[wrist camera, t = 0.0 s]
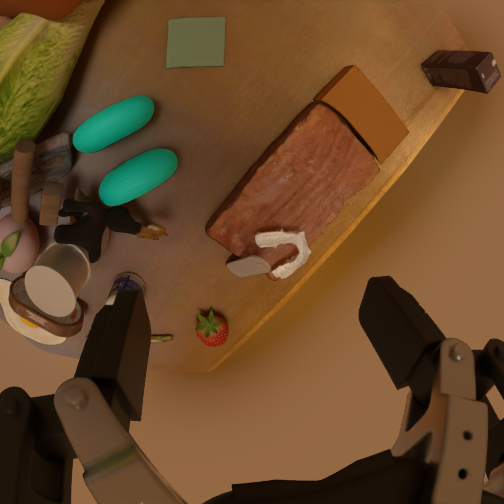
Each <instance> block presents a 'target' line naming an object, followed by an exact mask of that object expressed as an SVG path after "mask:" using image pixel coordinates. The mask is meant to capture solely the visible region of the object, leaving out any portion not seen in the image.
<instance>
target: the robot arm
mask: <svg viewBox="0 0 504 504" xmlns="http://www.w3.org/2000/svg"><path fill="white" fill-rule="evenodd" d="M359 321H360V324H361V326H362V328H363V330H364V331H365V333H366V335H367V336H368V338H369V340H370V342H371V343H372V345H373V347H374V348H375V350H376V352H377V354H378V356H379V357H380V359H381V361H382V363H383V365H384V366H385V368H386V370H387V372H388V373H389V375H390V377H391V379H392V381H393V383H394V385H395V387H396V388H397V390H398V389H401V388H404V387H407V386H409V387H410V389H411V390H410V392H409V393H408V396H407V400H406V405H405V410H404V415H403V420H402V424H401V429H400V433H399V436H398V439H397V441H396V442H395V444H394V445H393V447H392V449H391V450H390V449H389V450H386V451H383V452H380V453H378V454H375V455H372V456H369V457H366V458H363V459H360V460H357V461H355V462H354V463H352V464H350V465H348V466H347V467H345V468H343V469H341V470H340V471H338V472H336V473H335V474H332V475H331V476H329V477H327V478H325V479H322V480H318V481H296V480H269V481H261V482H252V483H243V484H232V491H229V492H226V493H223V494H220V495H218V496H216V497H213V498H211V499H209V500H208V501H206V502H204V503H203V504H504V418H503V419H502V420H499V419H498V417H497V415H496V413H495V411H494V409H493V407H492V406H491V404H490V402H489V400H488V398H487V397H486V394H487V393H488V391H489V390H490V389H491V388H492V387H493V386H494V384H495V386H496V387H497V389H498V391H499V392H500V394H501V396H502V398H503V399H504V342H503V341H501V340H499V339H490V340H489V341H488V343H487V344H486V346H485V347H484V349H483V350H471V349H470V348H469V346H468V345H467V344H466V343H464V342H463V341H461V340H459V339H456V338H448V339H447V338H446V337H445V336H444V334H443V333H442V332H441V331H440V329H439V328H438V327H437V325H436V324H435V323H434V322H433V320H432V319H431V318H430V317H429V315H428V314H427V313H425V310H424V309H423V308H422V307H421V306H419V303H418V302H417V301H416V300H415V298H414V297H413V296H412V295H411V294H410V293H408V292H407V291H405V290H404V289H402V288H400V287H399V285H398V284H397V283H396V282H395V281H394V279H393V278H392V277H390V276H381V277H372V278H370V279H369V281H368V283H367V287H366V290H365V293H364V296H363V299H362V303H361V305H360V308H359ZM91 328H92V329H90V332H89V334H88V339H87V340H86V343H85V345H84V348H83V351H82V354H81V357H80V360H79V363H78V366H77V369H76V373H75V375H74V378H71V379H68V380H67V381H65V382H63V383H62V384H61V385H60V386H59V388H58V389H57V391H56V393H55V394H52V395H46V396H40V397H32V398H30V396H29V395H28V394H27V393H26V392H25V391H24V390H23V389H22V388H20V387H9V388H7V389H5V390H4V391H2V392H1V393H0V504H71V483H72V466H73V459H75V458H79V460H80V462H81V464H82V465H83V468H84V471H85V472H84V473H83V479H84V481H85V484H86V486H87V487H88V489H89V491H90V492H91V494H92V495H93V497H94V499H95V500H96V502H97V503H98V504H188V503H187V502H186V501H185V500H184V499H183V498H182V496H181V495H180V494H179V493H178V492H177V491H176V490H175V489H174V488H173V487H172V486H171V485H170V484H169V483H168V482H167V480H166V479H165V478H164V477H163V476H162V475H161V474H160V472H159V471H158V470H157V469H156V468H155V466H154V465H153V464H152V463H151V461H150V460H149V459H148V458H147V457H146V455H145V454H144V452H143V451H142V450H141V448H140V447H139V446H138V444H137V443H136V442H135V440H134V439H133V437H132V436H131V435H130V433H129V427H130V421H141V414H142V404H143V395H144V386H145V378H146V370H147V363H148V356H149V349H150V343H151V326H150V321H149V317H148V313H147V309H146V305H145V301H144V297H143V293H142V290H141V289H120V290H118V292H117V295H116V298H115V300H114V303H113V305H105V306H104V307H103V308H102V309H101V310H100V311H99V312H98V313H97V314H96V316H95V318H94V321H93V324H92V326H91ZM485 472H486V475H487V478H488V481H486V482H485V483H484V476H485ZM483 483H484V484H483Z"/></svg>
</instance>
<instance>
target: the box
mask: <svg viewBox="0 0 504 504" xmlns="http://www.w3.org/2000/svg"><path fill="white" fill-rule="evenodd" d="M421 67H422V69H423V71H424V72H425V74H426V76H427V77H428V79H429V80H430V82H431V84H432V85H433V86H440V87H448V88H457V89H464V90H471V91H476V92H482V93H486V94H488V92H489V91H490V90H491V89H492V88H493V86H494V85H495V84H496V82H497V81H498V80H499V79H500V77H501V75H500V72H499V69H498V67H497V64H496V62H495V59H494V57H493V55H492V53H491V52H479V51H437V52H435V53H434V54H433V55H432V56H431V57H429V58H428V59H427V60H426V61H425V62H424V63H423V64H422V65H421Z"/></svg>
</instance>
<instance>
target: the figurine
mask: <svg viewBox="0 0 504 504" xmlns="http://www.w3.org/2000/svg"><path fill="white" fill-rule="evenodd" d="M58 214H59V216H61V217H67V216H73V217H74V218H75V219H76V220H77V222H75V223H74V224H71V225H58V226H57V227H56V229H55V233H54V239H55V242H56V243H58V244H72V245H77V246H80V247H83V248H84V249H86V250H87V251H88V254H89V262H90V263H95V262H97V261H98V260H99V258H100V256H101V244H102V236H103V233H104V231H105V229H106V227H108V228H110V229H111V230H113V231H115V232H122V233H129V234H134V235H137V236H138V237H141V238H147V239H154V240H159V238H158V237H157V236H168V235H167V234H166V233H165V232H166V229H165V228H163V227H162V226H159V225H154V224H150V225H148V227H146V226H143V225H142V224H140V223H138V222H137V221H135V220H134V219H133V218H132V217H131V215H130V213H129V211H128V210H127V209H126V208H125V207H122V206H113V207H111V208H110V209H106V208H105V207H103V205H102V204H101V203H99V202H82V201H76V200H73V199H70V198H67V199H65V200H64V203H63V208H62V209H60V211H59V213H58ZM155 235H157V236H155Z"/></svg>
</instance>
